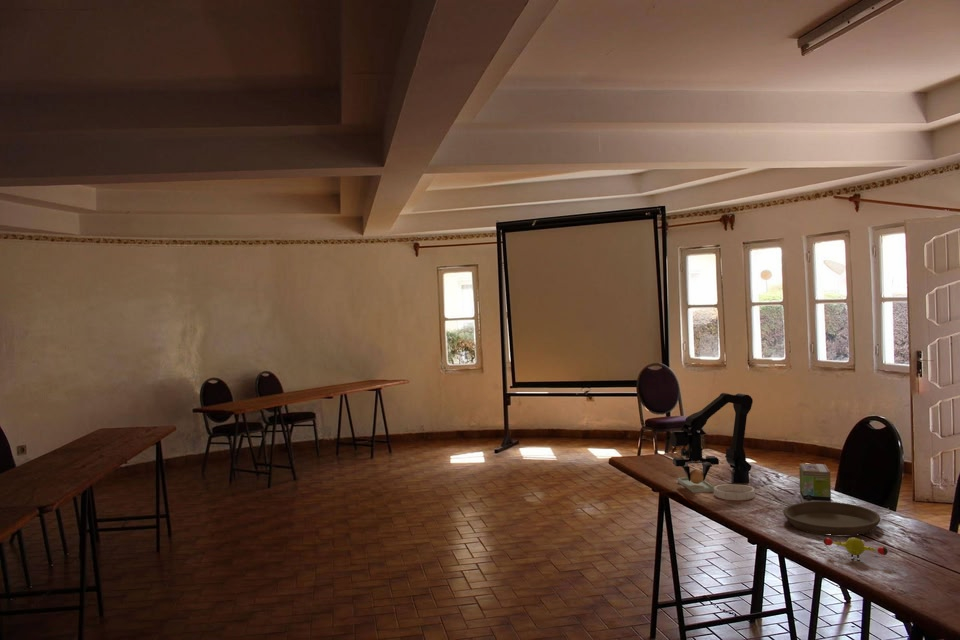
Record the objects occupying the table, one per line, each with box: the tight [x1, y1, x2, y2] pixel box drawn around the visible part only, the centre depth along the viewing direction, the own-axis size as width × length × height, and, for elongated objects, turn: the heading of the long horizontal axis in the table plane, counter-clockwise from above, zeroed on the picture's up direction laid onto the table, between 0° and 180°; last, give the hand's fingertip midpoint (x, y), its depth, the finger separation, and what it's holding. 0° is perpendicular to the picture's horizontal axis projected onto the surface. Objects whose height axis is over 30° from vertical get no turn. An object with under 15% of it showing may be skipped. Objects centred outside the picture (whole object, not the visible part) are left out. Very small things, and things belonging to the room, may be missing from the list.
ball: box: [690, 469, 703, 484], centre depth 317 cm, size 6×6×6 cm
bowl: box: [713, 483, 756, 501], centre depth 299 cm, size 16×16×4 cm
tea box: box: [798, 463, 832, 503], centre depth 283 cm, size 15×10×15 cm
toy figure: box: [823, 536, 889, 559], centre depth 222 cm, size 18×6×7 cm, turn 48°
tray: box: [677, 476, 715, 494], centre depth 317 cm, size 10×22×2 cm, turn 1°
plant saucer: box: [782, 501, 881, 535], centre depth 257 cm, size 31×31×5 cm
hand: (696, 480), depth 317 cm, fingers closed on ball, 6 cm apart
